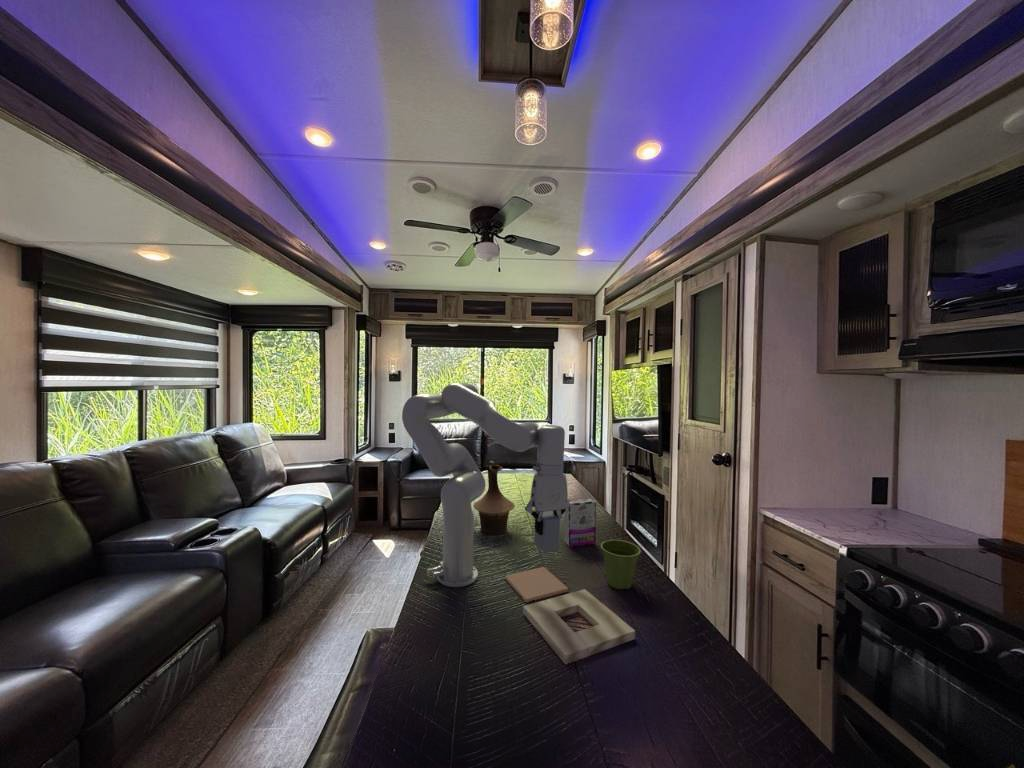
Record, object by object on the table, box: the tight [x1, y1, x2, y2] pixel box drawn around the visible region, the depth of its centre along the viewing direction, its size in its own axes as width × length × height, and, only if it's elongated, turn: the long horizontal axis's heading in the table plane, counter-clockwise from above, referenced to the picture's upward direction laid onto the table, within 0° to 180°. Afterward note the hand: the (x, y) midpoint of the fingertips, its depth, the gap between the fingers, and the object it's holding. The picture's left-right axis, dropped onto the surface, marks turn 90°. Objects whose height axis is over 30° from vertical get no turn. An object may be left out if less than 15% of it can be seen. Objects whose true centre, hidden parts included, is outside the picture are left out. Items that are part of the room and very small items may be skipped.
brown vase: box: [473, 460, 516, 536], centre depth 157 cm, size 18×17×28 cm
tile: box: [504, 566, 569, 603], centre depth 115 cm, size 14×14×1 cm
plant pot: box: [600, 539, 642, 590], centre depth 117 cm, size 12×12×11 cm
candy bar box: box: [564, 497, 597, 548], centre depth 146 cm, size 11×5×16 cm, turn 105°
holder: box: [522, 588, 636, 665], centre depth 97 cm, size 20×20×2 cm
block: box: [534, 511, 561, 553], centre depth 109 cm, size 4×6×9 cm
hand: (546, 531), depth 109 cm, fingers closed on block, 4 cm apart
